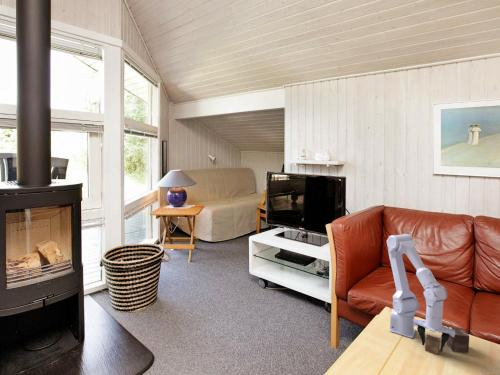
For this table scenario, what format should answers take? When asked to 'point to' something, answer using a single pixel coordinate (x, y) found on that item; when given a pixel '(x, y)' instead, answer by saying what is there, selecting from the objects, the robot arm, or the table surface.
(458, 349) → the box
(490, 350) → the table surface
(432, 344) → the walnut block
